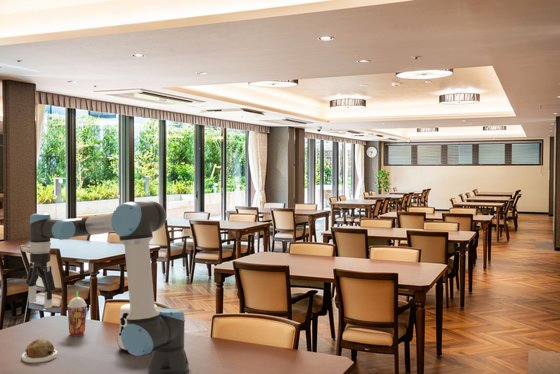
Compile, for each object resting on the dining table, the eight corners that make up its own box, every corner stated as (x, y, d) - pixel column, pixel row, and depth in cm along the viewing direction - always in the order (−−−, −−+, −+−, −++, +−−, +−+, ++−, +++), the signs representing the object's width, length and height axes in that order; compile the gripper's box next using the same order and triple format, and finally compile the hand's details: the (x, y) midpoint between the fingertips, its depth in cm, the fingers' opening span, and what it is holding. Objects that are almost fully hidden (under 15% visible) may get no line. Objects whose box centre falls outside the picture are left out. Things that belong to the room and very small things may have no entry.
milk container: (167, 347, 240) (168, 305, 239) (136, 357, 226) (136, 313, 225) (140, 339, 250) (140, 300, 249) (108, 349, 235) (108, 307, 235)
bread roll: (38, 368, 219) (46, 350, 218) (17, 355, 221) (25, 337, 220) (53, 360, 229) (61, 343, 228) (33, 347, 230) (41, 330, 229)
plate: (63, 357, 225) (63, 353, 225) (31, 365, 215) (31, 361, 215) (47, 350, 234) (47, 346, 234) (16, 357, 224) (16, 353, 224)
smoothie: (66, 333, 258) (66, 290, 258) (85, 331, 262) (85, 288, 261) (67, 338, 251) (68, 293, 250) (87, 336, 254) (87, 292, 254)
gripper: (64, 254, 218) (64, 308, 218) (35, 248, 234) (35, 298, 235) (45, 256, 212) (45, 311, 213) (17, 250, 229) (17, 301, 229)
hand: (40, 304), depth 224 cm, fingers open, 13 cm apart
